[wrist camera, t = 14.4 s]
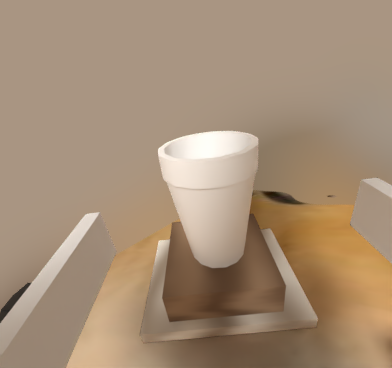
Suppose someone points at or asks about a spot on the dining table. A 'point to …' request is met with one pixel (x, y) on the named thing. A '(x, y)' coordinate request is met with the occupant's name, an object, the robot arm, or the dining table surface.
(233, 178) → the foam cup
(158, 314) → the build base
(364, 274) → the dining table surface
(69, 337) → the robot arm
